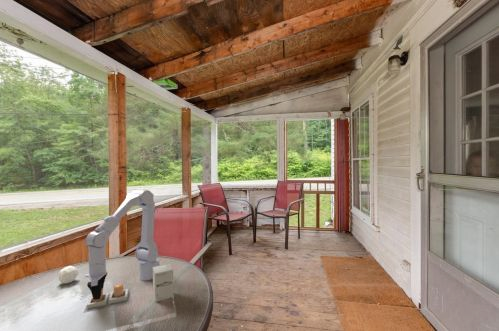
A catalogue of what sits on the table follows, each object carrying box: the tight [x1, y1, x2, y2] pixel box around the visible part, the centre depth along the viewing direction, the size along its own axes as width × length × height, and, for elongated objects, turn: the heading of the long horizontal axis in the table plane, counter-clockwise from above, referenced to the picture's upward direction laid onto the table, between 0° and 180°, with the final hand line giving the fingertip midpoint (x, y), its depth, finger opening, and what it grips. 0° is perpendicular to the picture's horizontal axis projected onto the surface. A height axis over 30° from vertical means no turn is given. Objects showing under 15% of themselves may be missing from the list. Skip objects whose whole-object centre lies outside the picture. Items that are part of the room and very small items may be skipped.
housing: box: [83, 288, 131, 313], centre depth 96 cm, size 15×11×3 cm
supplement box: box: [152, 263, 175, 303], centre depth 99 cm, size 7×7×13 cm
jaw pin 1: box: [93, 287, 104, 303], centre depth 95 cm, size 3×3×5 cm
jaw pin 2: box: [113, 283, 124, 298], centre depth 98 cm, size 3×3×5 cm
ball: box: [57, 265, 79, 285], centre depth 115 cm, size 8×8×8 cm
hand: (98, 295), depth 95 cm, fingers open, 4 cm apart
